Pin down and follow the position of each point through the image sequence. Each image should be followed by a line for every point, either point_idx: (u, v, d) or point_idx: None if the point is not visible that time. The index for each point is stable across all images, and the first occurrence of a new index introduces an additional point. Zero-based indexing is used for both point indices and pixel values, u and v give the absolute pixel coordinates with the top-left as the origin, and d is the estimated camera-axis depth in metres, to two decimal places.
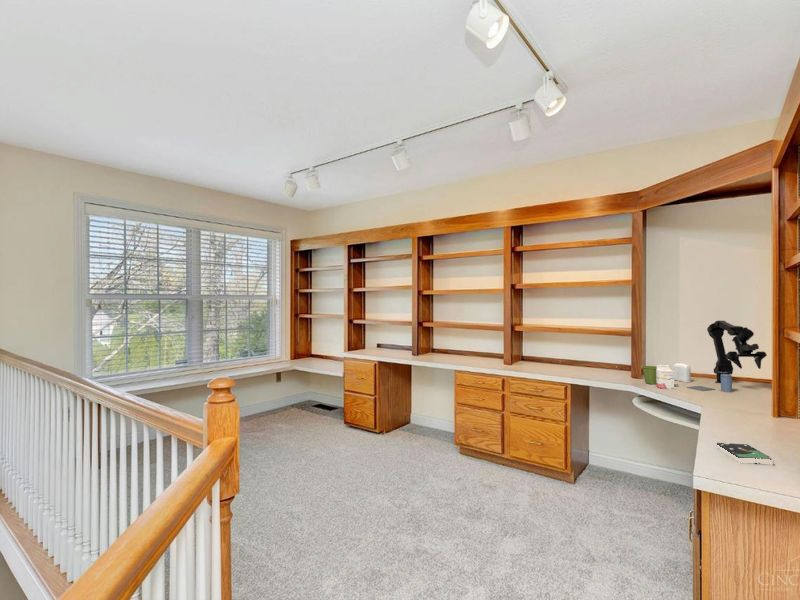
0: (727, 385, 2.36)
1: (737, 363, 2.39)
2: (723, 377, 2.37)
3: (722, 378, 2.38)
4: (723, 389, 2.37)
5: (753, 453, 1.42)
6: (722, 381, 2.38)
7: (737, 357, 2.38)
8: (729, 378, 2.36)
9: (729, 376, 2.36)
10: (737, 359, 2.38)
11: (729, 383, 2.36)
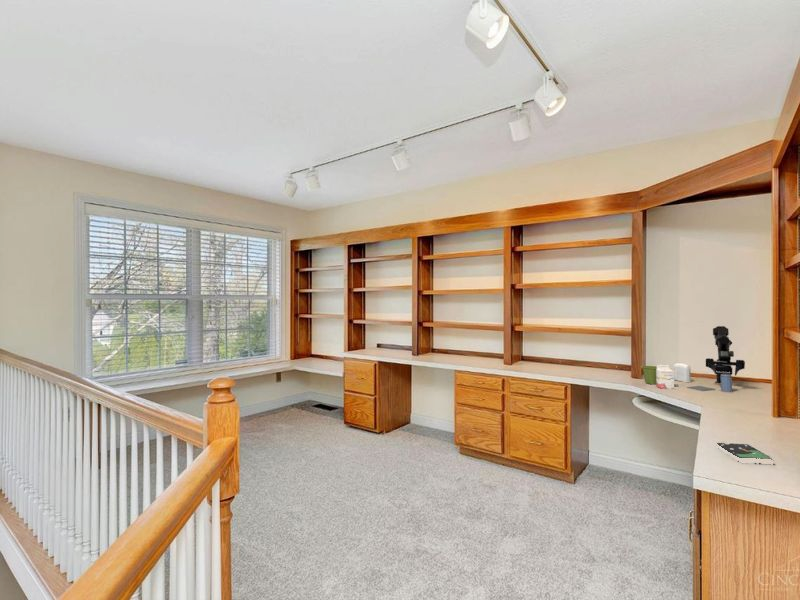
0: (727, 385, 2.36)
1: (713, 369, 2.46)
2: (723, 377, 2.37)
3: (722, 378, 2.38)
4: (723, 389, 2.37)
5: (753, 453, 1.42)
6: (722, 381, 2.38)
7: (713, 363, 2.47)
8: (729, 378, 2.36)
9: (729, 376, 2.36)
10: (713, 365, 2.47)
11: (729, 383, 2.36)
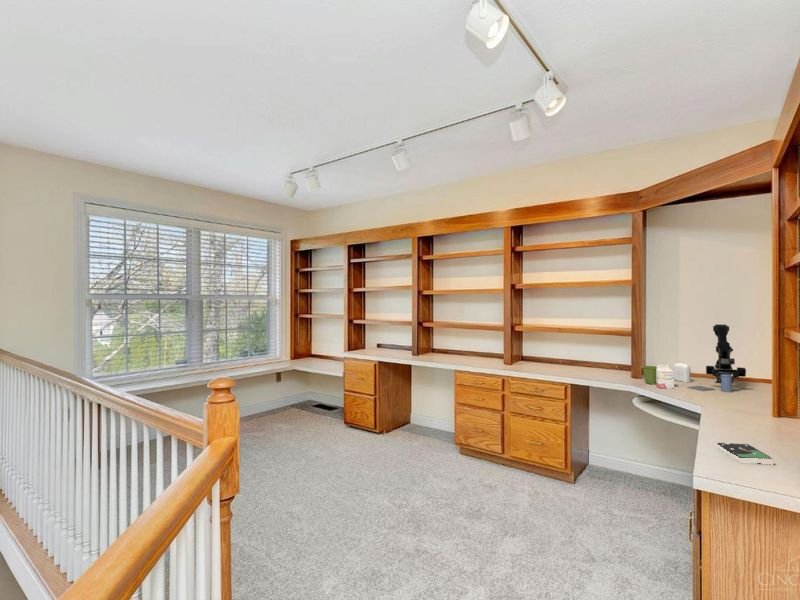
0: (727, 385, 2.36)
1: (717, 377, 2.41)
2: (723, 377, 2.37)
3: (722, 378, 2.38)
4: (723, 389, 2.37)
5: (753, 453, 1.42)
6: (722, 381, 2.38)
7: (717, 371, 2.42)
8: (729, 378, 2.36)
9: (729, 376, 2.36)
10: (717, 373, 2.41)
11: (729, 383, 2.36)
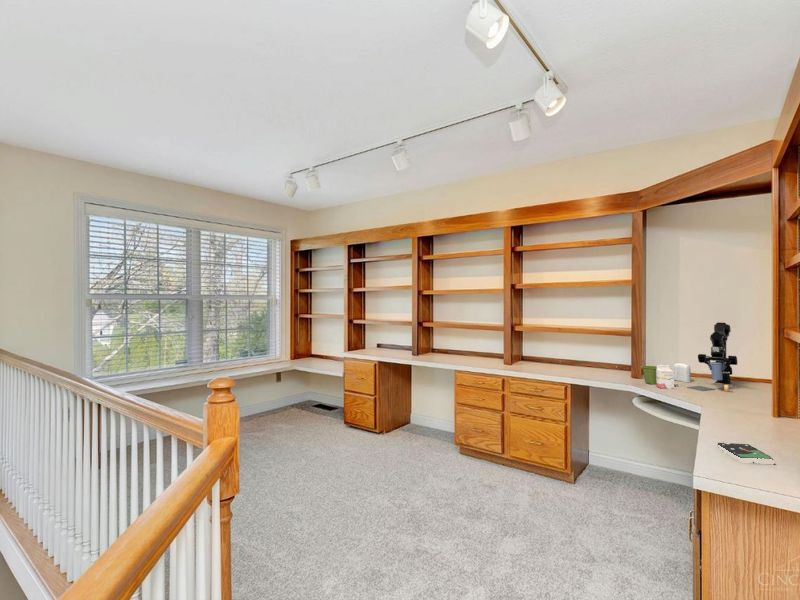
0: (716, 373, 2.39)
1: (708, 365, 2.44)
2: (713, 365, 2.40)
3: (712, 366, 2.41)
4: (713, 377, 2.40)
5: (754, 453, 1.42)
6: (712, 369, 2.41)
7: (708, 359, 2.45)
8: (719, 366, 2.38)
9: (719, 364, 2.38)
10: (708, 361, 2.44)
11: (719, 371, 2.38)
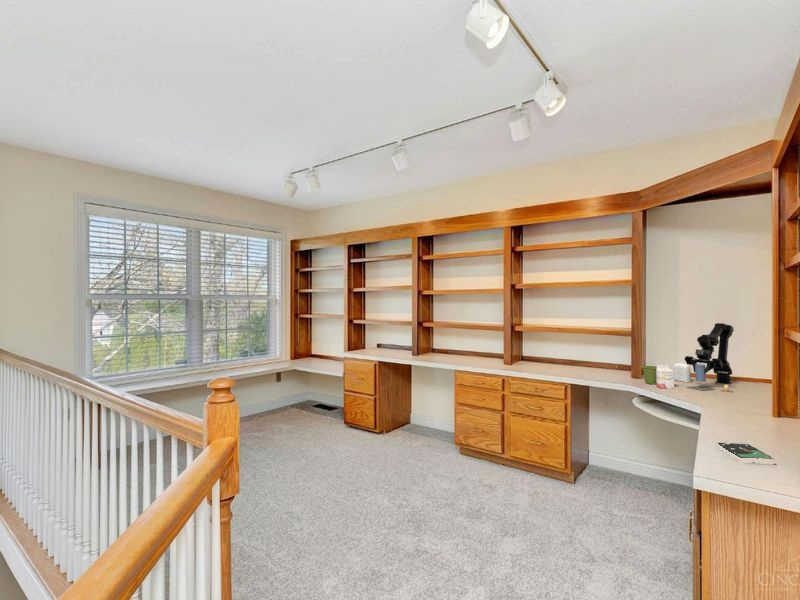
0: (699, 375, 2.45)
1: None
2: (696, 367, 2.47)
3: (695, 368, 2.47)
4: (696, 378, 2.47)
5: (754, 453, 1.42)
6: (695, 371, 2.47)
7: (693, 361, 2.51)
8: (701, 368, 2.45)
9: (701, 366, 2.45)
10: (693, 363, 2.51)
11: (701, 373, 2.44)
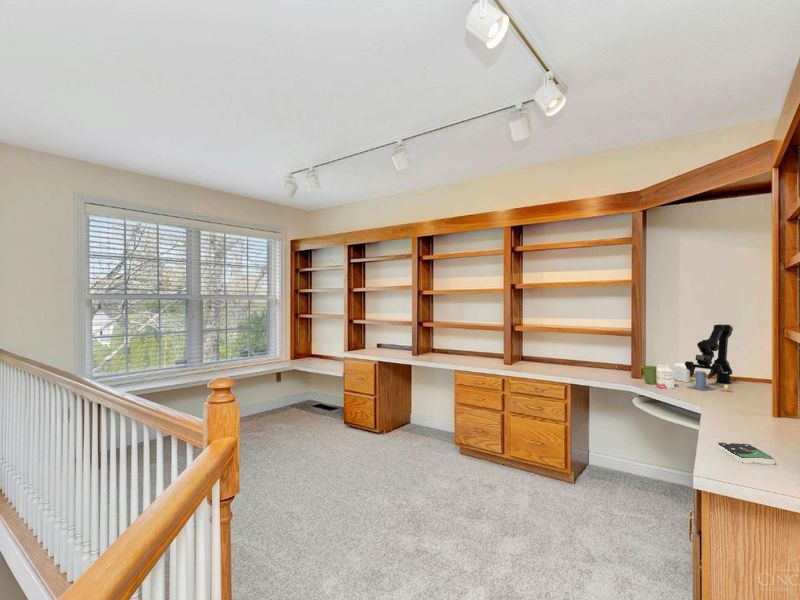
0: (699, 382, 2.45)
1: None
2: (696, 374, 2.47)
3: (696, 375, 2.47)
4: (696, 385, 2.47)
5: (754, 453, 1.42)
6: (696, 378, 2.47)
7: (690, 366, 2.52)
8: (701, 375, 2.45)
9: (702, 373, 2.45)
10: (690, 368, 2.52)
11: (702, 380, 2.44)
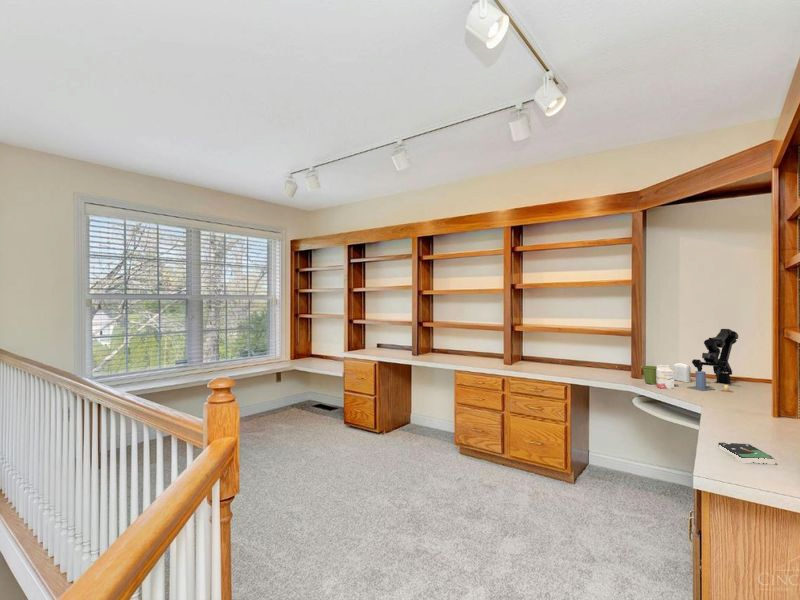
0: (699, 382, 2.45)
1: None
2: (696, 374, 2.47)
3: (696, 375, 2.47)
4: (696, 385, 2.47)
5: (755, 453, 1.42)
6: (696, 378, 2.47)
7: (697, 364, 2.57)
8: (701, 375, 2.45)
9: (702, 373, 2.45)
10: (697, 366, 2.57)
11: (702, 380, 2.44)
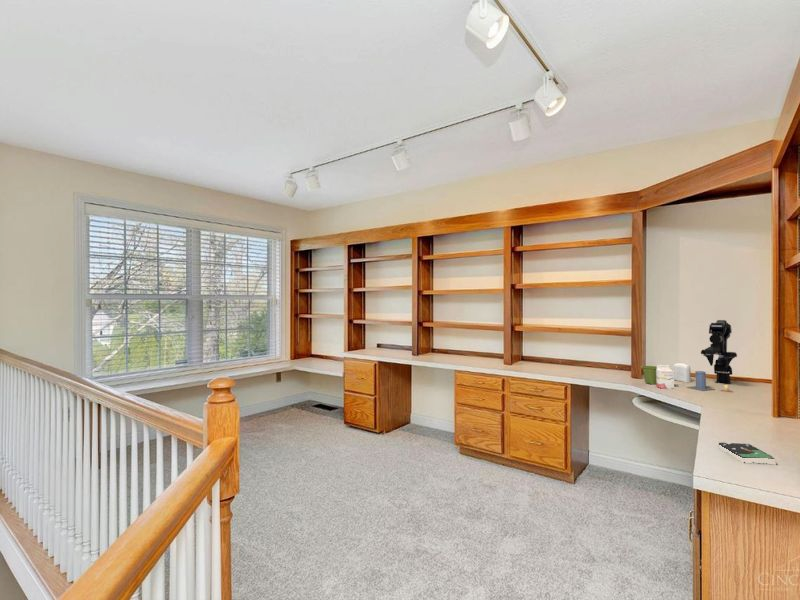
0: (699, 382, 2.45)
1: None
2: (696, 374, 2.47)
3: (696, 375, 2.47)
4: (696, 385, 2.47)
5: (755, 453, 1.42)
6: (696, 378, 2.47)
7: (706, 356, 2.60)
8: (701, 375, 2.45)
9: (702, 373, 2.45)
10: (707, 357, 2.60)
11: (702, 380, 2.44)
